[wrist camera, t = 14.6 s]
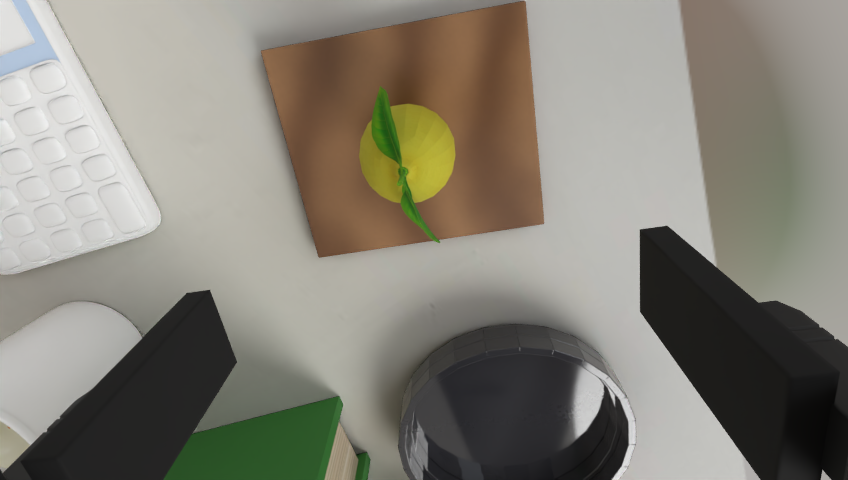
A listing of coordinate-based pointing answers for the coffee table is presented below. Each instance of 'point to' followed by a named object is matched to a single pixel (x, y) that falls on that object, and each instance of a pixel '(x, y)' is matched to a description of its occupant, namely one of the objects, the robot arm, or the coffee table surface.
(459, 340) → the pan
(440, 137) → the lemon
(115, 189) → the calculator
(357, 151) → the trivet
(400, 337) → the coffee table surface
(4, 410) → the candle holder
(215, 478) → the hardback book
